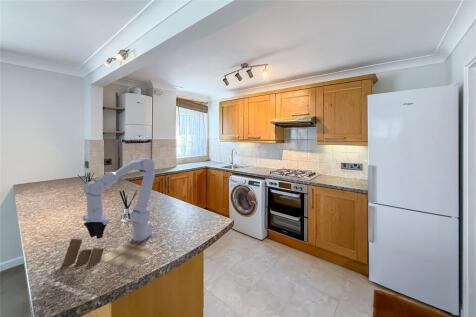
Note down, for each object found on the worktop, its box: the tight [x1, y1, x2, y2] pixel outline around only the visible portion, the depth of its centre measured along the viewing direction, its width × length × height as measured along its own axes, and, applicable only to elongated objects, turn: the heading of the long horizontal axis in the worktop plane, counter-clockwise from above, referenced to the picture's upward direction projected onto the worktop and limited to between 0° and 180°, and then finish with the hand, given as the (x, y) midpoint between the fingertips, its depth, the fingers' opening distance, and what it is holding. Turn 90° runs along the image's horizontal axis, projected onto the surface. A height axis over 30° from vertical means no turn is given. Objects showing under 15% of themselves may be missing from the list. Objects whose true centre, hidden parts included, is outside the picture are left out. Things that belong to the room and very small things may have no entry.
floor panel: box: [107, 245, 158, 270], centre depth 96 cm, size 16×12×1 cm
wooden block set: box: [62, 237, 105, 266], centre depth 93 cm, size 18×9×10 cm, turn 76°
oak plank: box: [99, 242, 138, 264], centre depth 100 cm, size 16×7×1 cm, turn 159°
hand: (96, 237), depth 97 cm, fingers open, 4 cm apart
